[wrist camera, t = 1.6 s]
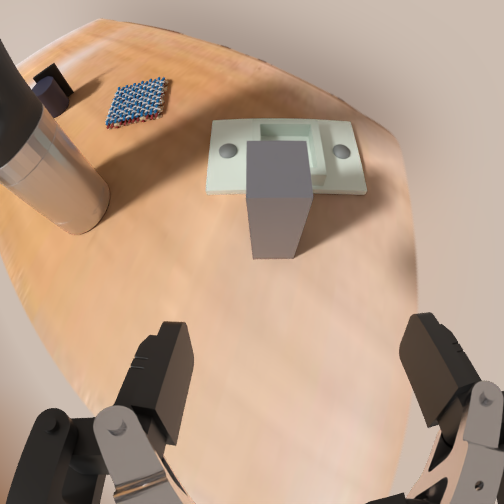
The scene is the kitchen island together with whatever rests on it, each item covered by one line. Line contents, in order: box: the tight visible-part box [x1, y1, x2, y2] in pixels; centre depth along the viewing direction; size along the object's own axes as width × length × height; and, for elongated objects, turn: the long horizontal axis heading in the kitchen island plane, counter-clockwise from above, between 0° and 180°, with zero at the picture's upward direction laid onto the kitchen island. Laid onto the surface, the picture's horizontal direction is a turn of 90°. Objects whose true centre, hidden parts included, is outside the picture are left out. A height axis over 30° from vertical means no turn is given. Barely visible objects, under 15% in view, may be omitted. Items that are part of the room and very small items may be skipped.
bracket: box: [206, 118, 367, 195], centre depth 35 cm, size 20×12×4 cm, turn 90°
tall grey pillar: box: [246, 140, 313, 259], centre depth 26 cm, size 4×5×14 cm
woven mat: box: [105, 77, 169, 130], centre depth 41 cm, size 10×11×2 cm
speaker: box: [32, 63, 74, 118], centre depth 39 cm, size 8×6×10 cm
